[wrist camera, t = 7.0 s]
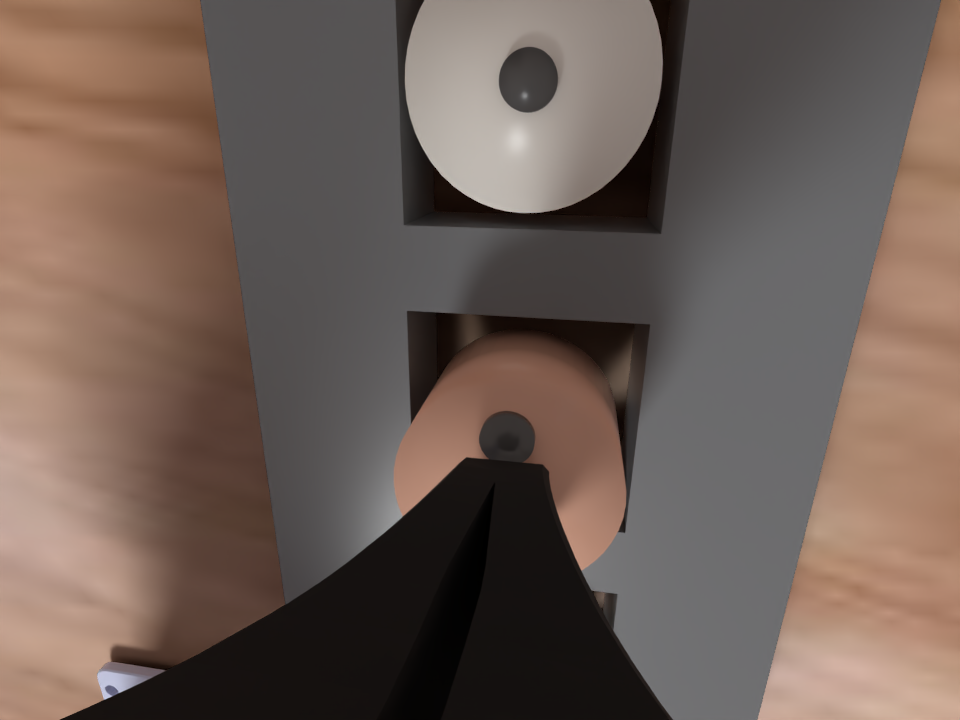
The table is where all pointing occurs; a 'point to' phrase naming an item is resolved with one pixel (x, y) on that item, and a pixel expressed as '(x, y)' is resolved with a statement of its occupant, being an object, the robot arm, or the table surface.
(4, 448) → the table surface
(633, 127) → the button one dot
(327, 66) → the button board
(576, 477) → the button three dots
